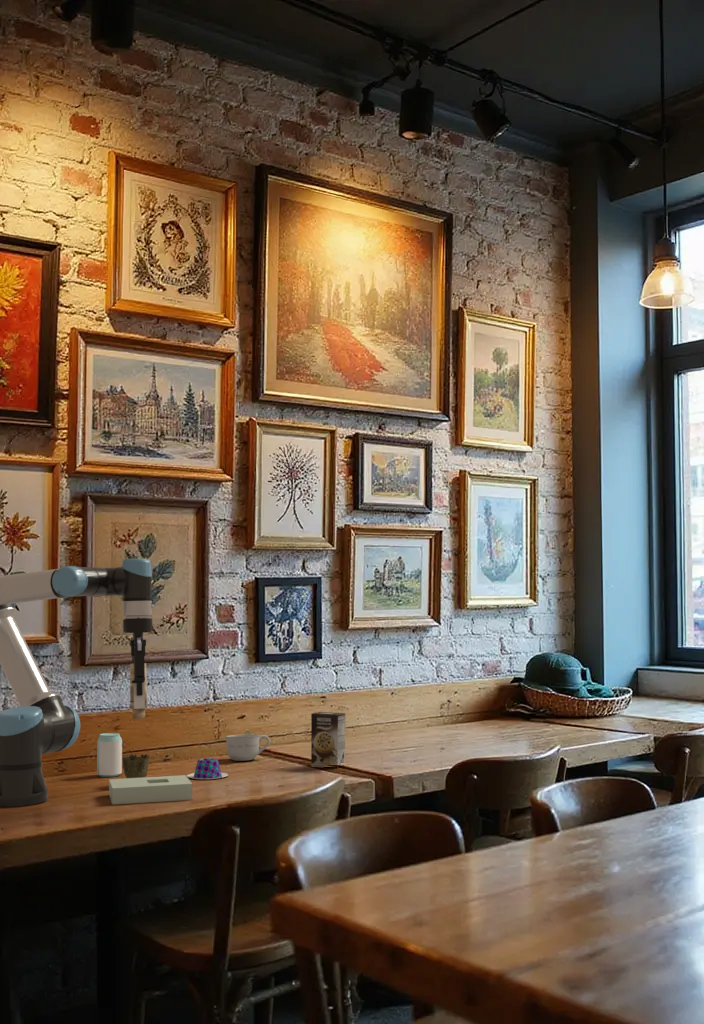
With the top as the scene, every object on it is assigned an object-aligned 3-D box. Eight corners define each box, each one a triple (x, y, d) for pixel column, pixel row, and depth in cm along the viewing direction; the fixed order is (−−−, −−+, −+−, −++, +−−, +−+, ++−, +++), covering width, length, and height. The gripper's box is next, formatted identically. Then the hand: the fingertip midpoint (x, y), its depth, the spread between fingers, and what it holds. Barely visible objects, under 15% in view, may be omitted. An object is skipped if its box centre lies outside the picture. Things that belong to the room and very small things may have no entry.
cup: (152, 782, 298) (152, 753, 298) (144, 787, 290) (145, 757, 291) (126, 782, 298) (126, 753, 299) (118, 787, 291) (118, 757, 292)
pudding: (237, 776, 308) (237, 758, 309) (208, 782, 298) (208, 763, 299) (207, 773, 315) (207, 755, 316) (177, 778, 306) (177, 760, 306)
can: (116, 772, 316) (117, 731, 317) (125, 775, 310) (125, 734, 311) (93, 775, 312) (94, 733, 313) (101, 778, 306) (102, 736, 307)
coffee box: (310, 767, 323) (310, 713, 324) (319, 764, 329) (318, 711, 330) (337, 768, 319) (337, 714, 321) (346, 765, 325) (345, 712, 327)
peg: (130, 719, 273) (130, 664, 275) (129, 717, 278) (129, 663, 279) (147, 718, 275) (147, 663, 276) (146, 716, 279) (146, 662, 280)
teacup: (223, 762, 333) (223, 736, 334) (228, 757, 344) (228, 732, 345) (267, 762, 333) (267, 736, 333) (271, 757, 344) (271, 732, 344)
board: (112, 804, 266) (112, 788, 267) (108, 794, 280) (109, 779, 280) (192, 799, 272) (192, 783, 272) (185, 790, 285) (185, 775, 286)
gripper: (154, 617, 271) (155, 709, 269) (149, 617, 288) (150, 704, 286) (124, 618, 269) (125, 711, 267) (121, 617, 286) (122, 705, 284)
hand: (138, 707), depth 276 cm, fingers closed on peg, 4 cm apart
